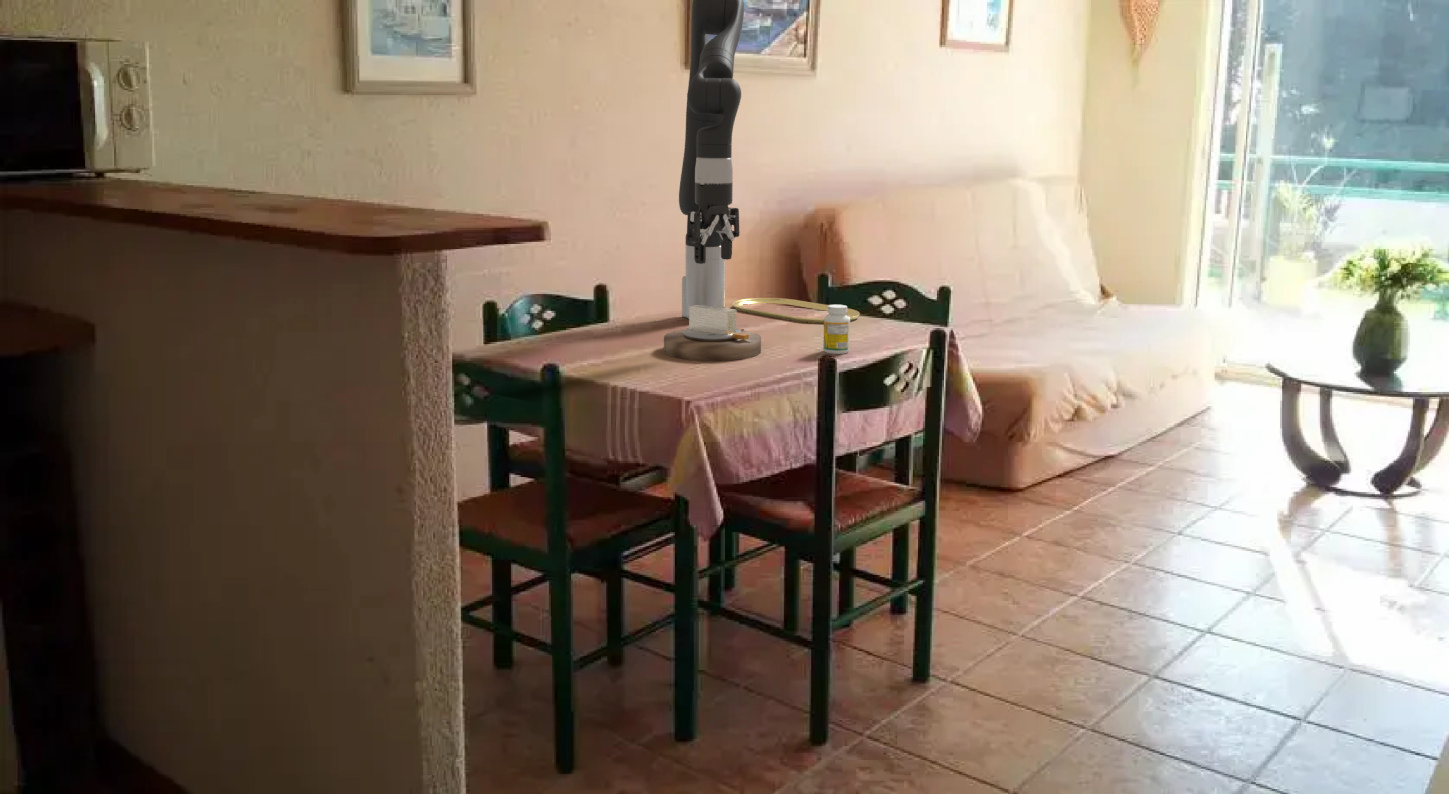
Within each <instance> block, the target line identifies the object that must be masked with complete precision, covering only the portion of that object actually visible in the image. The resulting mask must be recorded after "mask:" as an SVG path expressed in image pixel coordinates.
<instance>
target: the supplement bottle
mask: <svg viewBox="0 0 1449 794" xmlns="http://www.w3.org/2000/svg"><path fill="white" fill-rule="evenodd" d="M827 305H828V311H827V313H828V315H826V316H825V317H824V318H823V319H824V323H823V348H822V349H823V351H824V352H825V353H827V354H830V355H845V354H848V353H849V351H850V337H851V336H850V332H851V330H850V329H851V321H850V318H849V317H850V316H849V315H847V314H846V313H847V308H848V306H847V305H844V304H827Z"/></svg>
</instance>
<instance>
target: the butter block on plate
mask: <svg viewBox="0 0 1449 794" xmlns="http://www.w3.org/2000/svg"><path fill="white" fill-rule="evenodd" d="M737 312H738V310H737V309H736V308H727V307H724V308H721V307H713V306H706V305H699V304H698V305H693V306H689V319H688V328H685V330H684V329H683V330H684V331H683V336H684V337H685V338H688V339H691V340H698V341H729V340H735V339H743V340H745V339H749V335H748V334H742V331H741V330H740V329H741V328H740V329H739V328H737Z"/></svg>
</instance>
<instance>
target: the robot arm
mask: <svg viewBox="0 0 1449 794" xmlns="http://www.w3.org/2000/svg"><path fill="white" fill-rule="evenodd" d="M691 3H692V4H691V19H690V20H691V21H690V22H691V24H690V28H691V29H690V31H691V33H690V34H691V35H690V66H689V76H688V77H689V78H688V87H687V92H686V95H687V96H686V108H685V135H684V136H685V139H684V150H683V151H684V153H683V159H682V166H681V172H680V173H681V174H680V179H679V180H680V182H679V189H678V191H679V192H678V205H679V209H680V212H681V213H682V215H685V216H687V220H686V221H687V222H686V233H685V275H683V276H682V278H681V317H683V318H686V319H688V320H689V306H693V305H698V304H699V305H706V306H713V307H721V308H725V289H726V288H725V285H726V284H725V283H726V281H725V278H726V276H725V274H726V272H725V271H726V269H725V268H726V266H725V264H726V263H725V262H726V260H727V261H728V260H731V259H732V258H733V257H732V255H733V241H734V240H735V238H739V236H740V213H739V212H740V211H739V210H740V209H739V208H738V207H729V205H732V204H733V186H734V185H733V182H734V181H733V177H734V176H733V174H734V173H733V169H734V167H733V163H732V162H733V161H732V156H733V155H732V150H733V149H732V144H733V142H732V141H733V132H734V131H733V130H734V125H735V120H736V117H737V113H738V110H739V106H740V103H741V100H742V90H741V86H740V84H739V82H738V81H737V80H736V79H734V67H735V66H734V65H735V56H736V55H735V54H736V51H737V47H738V44H739V41H740V37H741V33H742V28H743V22H744V11H745V7H744V5H745V4H744V3H745V2H744V0H692V2H691ZM706 35H709V36H710V35H713V36H714V37H712V38H711V39H710V40H709V41H708V42H707V40H706Z"/></svg>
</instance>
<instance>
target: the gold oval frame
mask: <svg viewBox="0 0 1449 794" xmlns="http://www.w3.org/2000/svg"><path fill="white" fill-rule="evenodd" d="M743 304H748V305H756V304H757V305H758V304H776V305H777V304H778V305H779V304H780V305H789V306H790V305H791V306H796V307H802V308H808V309H814V310H820V311H826V312H828V305H829V304H825V303H818V302H817V303H816V302H809V301H805V300H798V299H792V298H791V299H790V298H783V297H782V298H781V297H780V298H778V297H757V298H756V297H755V298H754V297H753V298H743V299H738V300H736V301H735V300H734V301H733V303H732V307H733V308H734V309H735V310H737V311H739V312H743V313H748V314H753V315H759V316H764V317H770V318H775V319H781V320H786V319H788V320H789V321H792V320H793V322H799V323H806V322H808V323H807V324H824V318H809V317H808V318H807V317H799V316H792V315H787V314H782V313H775V312H770V311H769V312H768V311H764V310H758V309H752V308H746V307H743V306H744V305H743ZM846 316H848V317H849V318H850V322H851V321H854V320H856V319H858V317H859V316H860V312H859V311H858V310H856V309H852V308H848V307H847V313H846ZM788 320H787V321H788Z"/></svg>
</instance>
